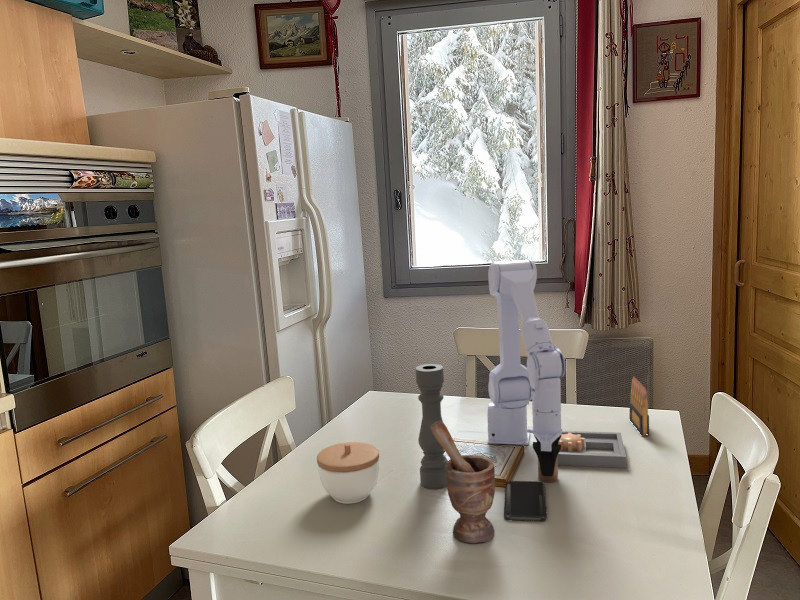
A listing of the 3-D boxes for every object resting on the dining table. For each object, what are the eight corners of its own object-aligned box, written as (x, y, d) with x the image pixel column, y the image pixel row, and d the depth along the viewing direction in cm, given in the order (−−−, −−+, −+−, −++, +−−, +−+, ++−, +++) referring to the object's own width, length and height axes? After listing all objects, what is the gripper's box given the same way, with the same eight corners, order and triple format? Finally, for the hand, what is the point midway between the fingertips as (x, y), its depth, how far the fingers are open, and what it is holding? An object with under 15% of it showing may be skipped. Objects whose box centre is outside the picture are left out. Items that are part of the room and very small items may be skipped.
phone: (503, 516, 120) (505, 480, 134) (503, 522, 120) (505, 485, 134) (547, 518, 118) (544, 481, 133) (547, 523, 118) (545, 486, 133)
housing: (548, 464, 142) (548, 449, 142) (550, 440, 156) (550, 426, 155) (626, 467, 138) (626, 452, 138) (620, 442, 152) (620, 428, 151)
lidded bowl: (354, 476, 142) (350, 428, 140) (394, 493, 133) (391, 442, 131) (307, 497, 133) (303, 446, 131) (347, 517, 124) (343, 462, 122)
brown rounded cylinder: (537, 481, 134) (537, 454, 133) (538, 473, 138) (538, 446, 137) (557, 482, 133) (557, 455, 132) (558, 474, 137) (557, 447, 136)
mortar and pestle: (427, 542, 114) (421, 433, 110) (437, 517, 122) (432, 416, 119) (493, 548, 111) (489, 436, 107) (499, 522, 119) (495, 418, 116)
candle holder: (454, 478, 138) (448, 364, 134) (443, 491, 133) (437, 372, 128) (427, 474, 141) (421, 362, 137) (415, 486, 135) (409, 370, 131)
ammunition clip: (649, 436, 155) (649, 387, 153) (641, 436, 155) (641, 388, 153) (636, 420, 165) (636, 375, 163) (629, 420, 165) (629, 375, 163)
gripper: (528, 396, 141) (530, 455, 143) (524, 419, 127) (526, 485, 129) (562, 397, 139) (563, 457, 142) (561, 421, 125) (562, 487, 128)
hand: (547, 470), depth 135 cm, fingers closed on brown rounded cylinder, 4 cm apart
